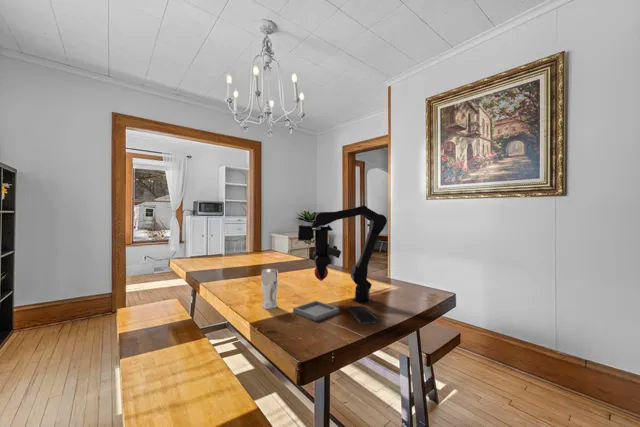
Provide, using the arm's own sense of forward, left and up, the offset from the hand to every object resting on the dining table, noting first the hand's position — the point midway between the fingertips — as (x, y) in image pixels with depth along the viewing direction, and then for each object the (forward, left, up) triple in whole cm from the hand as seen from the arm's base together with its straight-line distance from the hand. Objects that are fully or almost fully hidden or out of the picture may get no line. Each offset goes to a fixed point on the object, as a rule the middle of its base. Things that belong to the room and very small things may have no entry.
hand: (321, 276), depth 122 cm
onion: (0, 0, -2) cm, 2 cm away
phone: (0, +22, -11) cm, 25 cm away
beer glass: (+20, -10, -11) cm, 25 cm away
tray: (+11, +8, -11) cm, 17 cm away
